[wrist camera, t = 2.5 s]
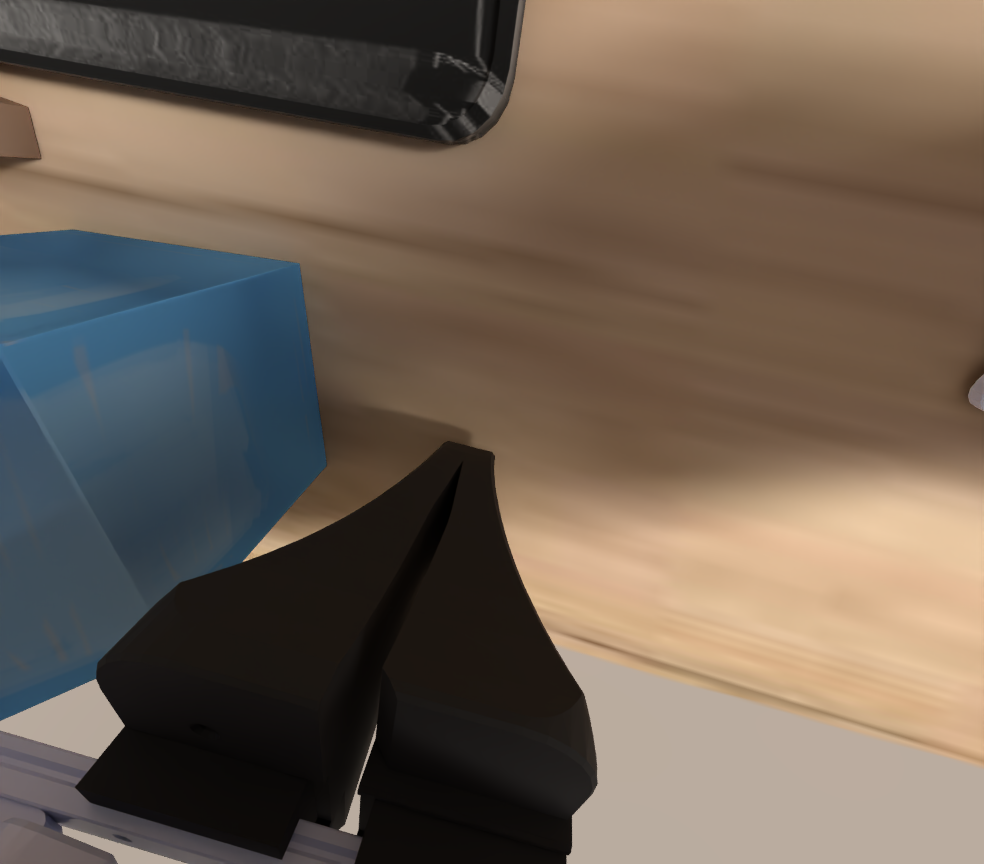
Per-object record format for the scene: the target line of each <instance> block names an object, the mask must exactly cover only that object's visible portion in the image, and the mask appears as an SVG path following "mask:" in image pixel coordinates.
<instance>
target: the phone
mask: <svg viewBox="0 0 984 864" xmlns="http://www.w3.org/2000/svg"><path fill="white" fill-rule="evenodd" d="M525 2H526V0H0V63H3V64H9V65H14V66H20V67H25V68H31V69H36V70H42V71H47V72H53V73H58V74H64V75H69V76H75V77H80V78H86V79H91V80H97V81H102V82H108V83H113V84H119V85H124V86H130V87H135V88H141V89H146V90H152V91H157V92H163V93H168V94H174V95H179V96H185V97H190V98H196V99H201V100H207V101H212V102H218V103H223V104H229V105H234V106H239V107H245V108H250V109H256V110H261V111H267V112H272V113H278V114H283V115H289V116H294V117H300V118H305V119H311V120H316V121H322V122H327V123H333V124H338V125H344V126H349V127H355V128H360V129H366V130H371V131H377V132H382V133H388V134H393V135H399V136H404V137H410V138H415V139H421V140H426V141H432V142H437V143H443V144H467V143H469V142H471V141H474V140H476V139H478V138H481V137H483V136H484V135H485V134H486V133H487V132H488V131H489V130H490V129H491V128H492V127H493V126H494V125H495V124H496V123H497V122H498V120H499V118H500V117H501V115H502V113H503V111H504V110H505V108H506V106H507V104H508V102H509V98H510V94H511V91H512V87H513V83H514V79H515V72H516V65H517V58H518V51H519V44H520V37H521V30H522V23H523V16H524V9H525Z"/></svg>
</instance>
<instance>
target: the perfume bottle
mask: <svg viewBox="0 0 984 864" xmlns="http://www.w3.org/2000/svg"><path fill="white" fill-rule="evenodd" d="M326 466H327V462H326V455H325V447H324V440H323V433H322V425H321V418H320V411H319V403H318V396H317V389H316V382H315V374H314V367H313V360H312V352H311V345H310V338H309V330H308V323H307V316H306V308H305V301H304V294H303V286H302V279H301V272H300V264H299V263H293V262H287V261H280V260H273V259H267V258H260V257H253V256H246V255H240V254H233V253H226V252H220V251H213V250H206V249H200V248H193V247H186V246H179V245H173V244H166V243H159V242H153V241H146V240H139V239H132V238H126V237H119V236H112V235H106V234H99V233H92V232H86V231H79V230H61V231H49V232H36V233H23V234H11V235H0V721H1V720H3V719H5V718H8V717H10V716H13V715H15V714H17V713H19V712H21V711H24V710H26V709H28V708H31V707H33V706H35V705H37V704H39V703H42V702H44V701H46V700H49V699H51V698H53V697H56V696H58V695H60V694H62V693H65V692H67V691H69V690H71V689H74V688H76V687H78V686H80V685H83V684H85V683H87V682H89V681H92V680H94V679H96V670H97V663H98V661H99V660H100V659H101V658H102V657H103V656H104V655H105V654H106V653H107V652H108V651H109V650H110V649H111V648H112V647H113V646H114V645H115V644H116V643H117V642H118V641H119V640H120V639H121V638H122V637H123V636H124V635H125V634H126V633H127V632H128V631H129V630H130V629H131V628H132V627H133V626H134V625H135V624H136V623H137V622H138V621H139V620H140V619H141V618H142V617H143V616H144V615H145V614H146V613H147V612H148V611H149V610H150V609H151V608H152V607H153V606H154V605H155V604H156V603H157V602H158V601H159V600H160V599H162V598H163V597H164V596H165V595H166V594H167V593H169V592H170V591H171V590H172V589H173V588H174V587H175V586H177V585H178V584H179V583H180V582H183V581H186V580H189V579H193V578H196V577H199V576H202V575H205V574H208V573H212V572H215V571H218V570H221V569H224V568H227V567H230V566H233V565H236V564H239V563H242V562H243V560H244V559H245V558H246V557H247V556H248V555H249V554H250V552H251V551H252V550H253V549H254V548H255V547H256V546H257V544H258V543H259V542H260V541H261V540H262V539H263V538H264V536H265V535H266V534H267V533H268V532H269V531H270V530H271V529H272V527H273V526H274V525H275V524H276V523H277V522H278V521H279V519H280V518H281V517H282V516H283V515H284V514H285V513H286V511H287V510H288V509H289V508H290V507H291V506H292V505H293V503H294V502H295V501H296V500H297V499H298V498H299V497H300V495H301V494H302V493H303V492H304V491H305V490H306V489H307V487H308V486H309V485H310V484H311V483H312V482H313V481H314V479H315V478H316V477H317V476H318V475H319V474H320V473H321V471H322V470H323V469H324V468H325V467H326Z"/></svg>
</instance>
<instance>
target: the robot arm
mask: <svg viewBox="0 0 984 864" xmlns="http://www.w3.org/2000/svg"><path fill="white" fill-rule="evenodd" d="M968 398H969V402H970V403H971V404H972V405H973V406H975V407H976V408H978V409H980V410H982V411H984V374H983V375H982V376H981V377H980V378H979V379H978V380H977V381H976V382H975V383H974V384H973V386H972V387H971V388H970V391H969V394H968ZM494 460H495V456H494V454H493V453H492V452H490V451H486V450H482V449H478V448H474V447H470V446H466V445H462V444H459V443H455V442H451V441H447V442H445V443H444V444H443V445H442V446H441V447H440V448H439V449H438V450H437V451H436V452H435V453H433V454H432V455H431V456H430V457H429V458H428V459H427V460H426V461H425V462H423V463H422V464H421V465H420V466H419V467H417V468H416V469H415V470H414V471H413V472H411V473H410V474H409V475H408V476H406V477H405V478H404V479H403V480H401V481H400V482H399V483H397V484H396V485H394V486H393V487H391V488H390V489H389V490H387V491H386V492H384V493H383V494H382V495H380V496H379V497H377V498H376V499H374V500H373V501H371V502H370V503H368V504H366V505H365V506H363V507H362V508H360V509H358V510H356V511H355V512H353V513H351V514H350V515H348V516H346V517H344V518H343V519H341V520H339V521H337V522H335V523H333V524H331V525H329V526H327V527H325V528H323V529H321V530H319V531H317V532H315V533H313V534H311V535H309V536H307V537H305V538H302V539H300V540H298V541H296V542H293V543H291V544H288V545H286V546H284V547H281V548H279V549H276V550H274V551H271V552H269V553H267V554H264V555H261V556H259V557H256V558H253V559H251V560H248V561H245V562H242V563H239V564H236V565H233V566H230V567H227V568H224V569H221V570H218V571H215V572H212V573H208V574H205V575H202V576H199V577H196V578H193V579H189V580H186V581H183V582H180V583H179V584H178V585H177V586H175V587H174V588H173V589H172V590H171V591H170V592H169V593H167V594H166V595H165V596H164V597H163V598H162V599H160V600H159V601H158V602H157V603H156V604H155V605H154V606H153V607H152V608H151V609H150V610H149V611H148V612H147V613H146V614H145V615H144V616H143V617H142V618H141V619H140V620H139V621H138V622H137V623H136V624H135V625H134V626H133V627H132V628H131V629H130V630H129V631H128V632H127V633H126V634H125V635H124V636H123V637H122V638H121V639H120V640H119V641H118V642H117V643H116V644H115V645H114V646H113V647H112V648H111V649H110V650H109V651H108V652H107V653H106V654H105V655H104V656H103V657H102V658H101V659H100V660H99V661H98V663H97V670H96V679H97V682H98V684H99V686H100V689H101V690H102V692H103V693H104V695H105V696H106V698H107V699H108V701H109V702H110V704H111V705H112V707H113V708H114V710H115V711H116V713H117V714H118V716H119V717H120V719H121V720H122V722H123V723H124V725H125V727H124V728H123V729H122V731H121V732H120V733H119V734H118V736H117V737H116V738H115V739H114V740H113V741H112V743H111V744H110V745H109V746H108V748H107V749H106V750H105V751H104V752H103V754H102V755H101V756H100V757H99V759H95V758H92V757H88V756H84V755H81V754H78V753H75V752H71V751H68V750H64V749H61V748H57V747H54V746H51V745H47V744H44V743H41V742H37V741H34V740H30V739H27V738H24V737H20V736H17V735H13V734H10V733H6V732H3V731H0V864H118V863H117V861H116V860H115V858H114V856H113V855H112V854H110V853H108V852H105V851H103V850H100V849H98V848H95V847H93V846H91V845H88V844H86V843H83V842H81V841H78V840H76V839H73V838H71V837H69V836H66V835H63V833H62V826H65V827H68V828H71V829H75V830H78V831H81V832H85V833H88V834H91V835H95V836H98V837H101V838H104V839H108V840H111V841H115V842H118V843H121V844H125V845H128V846H131V847H135V848H138V849H141V850H144V851H148V852H151V853H154V854H158V855H161V856H164V857H168V858H171V859H174V860H178V861H181V862H184V863H188V864H566V855H569V854H570V853H571V848H572V815H573V814H574V813H575V812H576V811H577V810H578V809H579V808H580V806H581V805H582V804H583V803H584V802H585V801H586V800H587V799H588V798H589V797H590V796H591V795H592V794H593V792H594V790H595V788H596V786H597V762H596V752H595V745H594V739H593V733H592V727H591V722H590V717H589V713H588V708H587V704H586V700H585V696H584V693H583V692H582V690H581V688H580V687H579V685H578V684H577V682H576V681H575V679H574V678H573V676H572V674H571V673H570V671H569V670H568V668H567V666H566V665H565V663H564V661H563V660H562V658H561V656H560V655H559V653H558V651H557V650H556V648H555V646H554V644H553V642H552V641H551V639H550V637H549V635H548V633H547V631H546V630H545V628H544V626H543V624H542V622H541V620H540V618H539V616H538V614H537V612H536V610H535V608H534V606H533V604H532V601H531V599H530V597H529V595H528V593H527V591H526V589H525V587H524V585H523V582H522V580H521V577H520V575H519V572H518V570H517V567H516V565H515V562H514V559H513V556H512V553H511V551H510V548H509V544H508V541H507V538H506V535H505V531H504V527H503V523H502V519H501V515H500V511H499V505H498V500H497V495H496V488H495V478H494ZM376 725H377V730H376V739H375V742H374V745H373V747H372V750H371V753H370V756H369V759H368V762H367V764H366V767H365V770H364V773H363V776H362V779H361V782H360V785H359V788H358V795H361V798H360V815H359V830H358V833H357V835H353V834H350V833H347V832H343V831H340V830H339V829H340V828H341V827H342V826H343V825H345V822H346V819H347V816H348V813H349V810H350V806H351V803H352V800H353V797H354V794H355V790H356V787H357V784H358V781H359V778H360V774H361V771H362V768H363V765H364V762H365V759H366V756H367V753H368V750H369V746H370V743H371V740H372V737H373V734H374V731H375V728H376ZM60 825H61V826H60Z"/></svg>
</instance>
